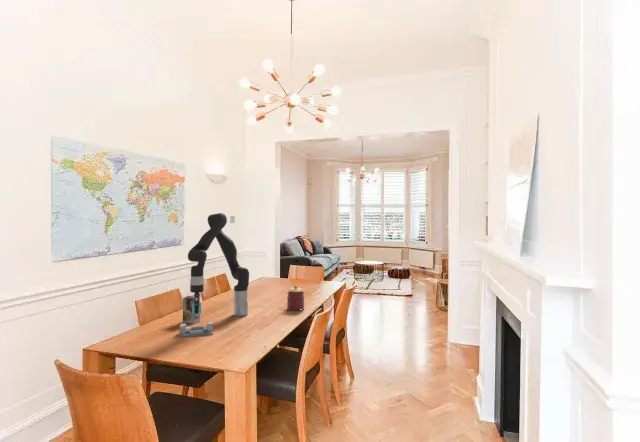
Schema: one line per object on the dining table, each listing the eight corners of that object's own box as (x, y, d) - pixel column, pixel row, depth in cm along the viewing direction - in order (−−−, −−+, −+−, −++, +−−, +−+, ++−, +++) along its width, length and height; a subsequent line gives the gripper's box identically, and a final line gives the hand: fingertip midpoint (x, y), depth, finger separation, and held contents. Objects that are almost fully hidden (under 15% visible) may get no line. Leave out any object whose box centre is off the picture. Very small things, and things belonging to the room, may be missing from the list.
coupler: (201, 311, 204) (201, 303, 203) (201, 313, 199) (201, 305, 199) (192, 312, 202) (192, 303, 202) (192, 314, 197) (192, 305, 197)
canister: (283, 309, 252) (284, 286, 251) (291, 305, 264) (292, 283, 263) (299, 311, 247) (300, 287, 246) (307, 307, 259) (307, 284, 259)
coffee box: (200, 321, 223) (200, 296, 222) (193, 324, 217) (194, 298, 216) (189, 319, 226) (189, 295, 225) (182, 322, 220) (182, 297, 219)
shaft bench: (212, 328, 209) (212, 319, 209) (212, 334, 198) (212, 325, 198) (181, 330, 203) (181, 322, 203) (179, 337, 192) (179, 328, 192)
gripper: (203, 285, 194) (203, 315, 195) (203, 280, 208) (203, 308, 208) (189, 286, 192) (189, 316, 192) (190, 281, 206) (190, 309, 206)
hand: (196, 312), depth 200 cm, fingers closed on coupler, 5 cm apart
